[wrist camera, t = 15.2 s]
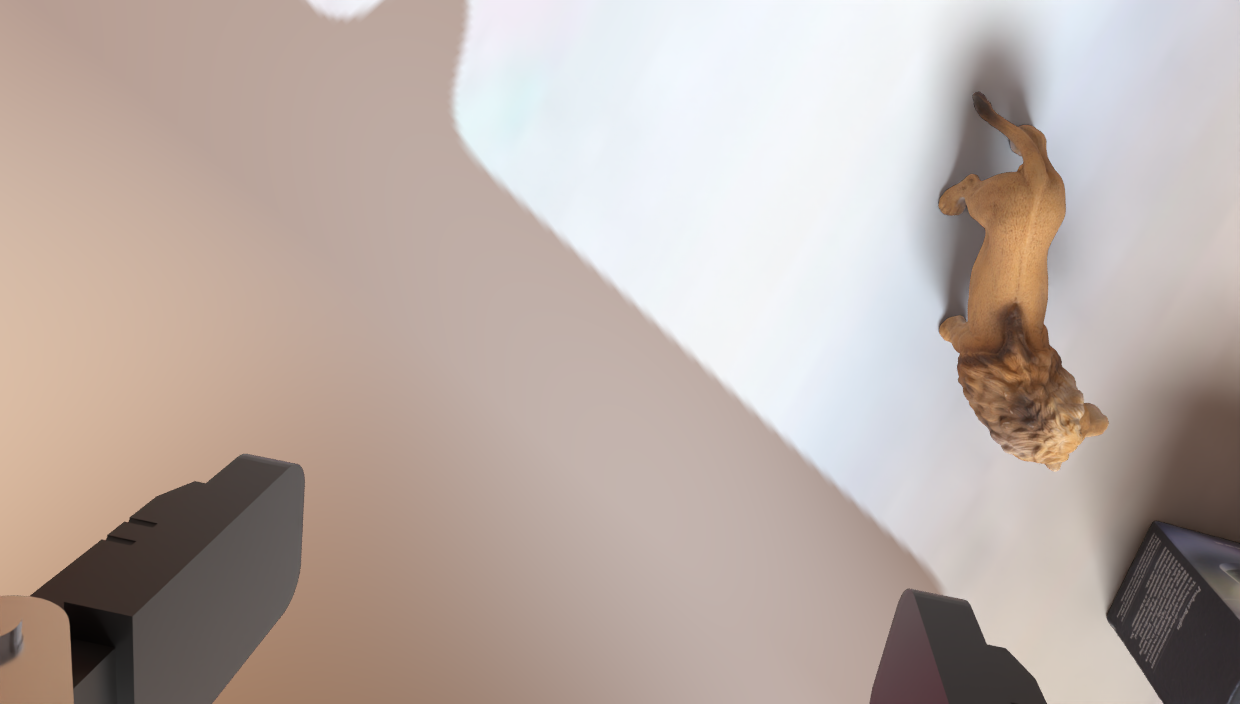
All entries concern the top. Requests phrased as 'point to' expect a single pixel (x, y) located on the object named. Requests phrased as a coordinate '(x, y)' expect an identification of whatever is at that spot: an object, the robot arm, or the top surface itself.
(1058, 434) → the lion figurine
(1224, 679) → the small box
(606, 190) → the top surface
